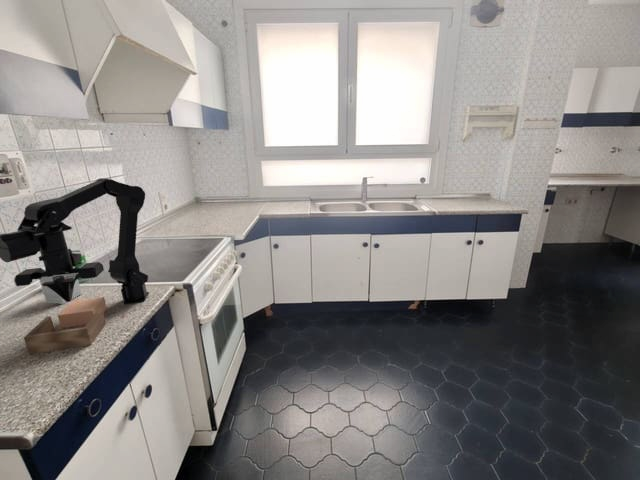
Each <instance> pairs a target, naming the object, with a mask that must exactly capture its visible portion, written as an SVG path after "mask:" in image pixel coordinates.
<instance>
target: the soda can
mask: <svg viewBox="0 0 640 480" xmlns="http://www.w3.org/2000/svg"><path fill="white" fill-rule="evenodd" d="M72 253H78V254H81V257H82V264H77V266H75V268H81V267H82V266H83V265H84V264H86V263H87V260H86V255H85V253H84V252H83V251H81V250H80V249H79V250H77V249H76V250H72ZM88 280H89V278H87V279H82V278H81V277H79V278H78V281H79V284H82V283H85V282H88Z"/></svg>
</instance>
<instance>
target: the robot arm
mask: <svg viewBox="0 0 640 480" xmlns="http://www.w3.org/2000/svg"><path fill="white" fill-rule="evenodd" d="M106 194H107V195H109V196H111V197H114V198H115V202H116V205H117V208H118V210H119V212H120V219H119V229H118V230H119V231H118V243H117V245H118V246H117V255H116V257H115V258H114V260H113V259H109V263H108V265H109V267H108V271H107V272H108V273H109V276H110V278H112V280H114V281H115V282H117V283H118V284H119V285H120V284H121V289H120V292H121V296H122V300H124V301H123V304H124V305H126V304H135V303H140V302H145V301H146V299H147V297H148V295H149V293H150V292H149V291H148V290H147V287H146V283H147V282H148V280H149V275H148V274H146V273H144V272H142V271H140V263H139V262H138V261H139V260H138V259H137V256H136V247H137V246H136V245H137V243H136V242H137V232H138V215H139V213H140V212H141V209H142V208H143V206H144V203H145V199H146V192H145V190H144V189H143V188H142V187H141V186H138V185H130V184H126V183H123V182H121V181H116V180H114V179H112V178H102V177H101V178H98V179H96V180H95V181H93V182H91V183H89V184H86V185H83V186H82V187H79V188H78V189H75V190H73V191H71V192H68V193H66V194H64V195H61V196H59V197H54V198H50V199H45V200H39V201H36V202H31V203H30V204H28V205H27V206H25V208H24V212H23V213H24V217H23V218H22V220H21V222H20V224H19V225H18V228H16V229H17V231H14V232H13V231H12V232H7V233H0V259H1V260H2V261H3V262H4V263H10V262H14V261H18V260H22V259H25V258H28V257H32V256H35V255H37V254H38V252H39V253H40V256H38V260H39V262H43V267H45V269H46V270H45V271H44V270H43V269H42V267H35V268H34V267H33V268H26V269H24V270H23V271H21V272H19V273H18V274H16V275H15V276H14V279H13V281H14V284H15V286H16V287H23V286H24V287H25V286H30V285H31V283H32V282H33V280H39V279H43V282H44V283H43V284H42V285H43V286H47V287H49V288H50V289H51V290H53V291H54V292H56V293H57V294H58V295H59V296H60V297H62V298H63V299H64V300H65V301H66V303H69V302H70V303H71V302H72V301H73V299H72V295H73V289H74V284H75V281H76V280H77V279H78V278H79V277H81V278H82V279H87V278H88V279H94V278H97V277H98V276H100V274H101V273H103V272H104V270H105V269H104V265H103V263H101V262H100V261H96V262H95V261H94V262H86V264H84V265H83V266H82V267H81V268H73V267H75V266H77V264H82V257H81V254H78V253H72V251H73V250H72V249H71V248H69V247H68V244H67V242H66V237H65V234H64V232H66V231H71V230H72V226H69V225H67V224H66V223H64V222H63V221H64V220H65V219H67V218H68V217H69V216H70V215H71V214H72V212H74V211H75V210H76V209H78V208H80V207H82V206H84V205H86V204H88V203H91V202H92V201H94V200H96V199H99V198H100V197H102V196H104V195H106ZM67 272H68V273H67Z"/></svg>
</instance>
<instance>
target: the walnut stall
mask: <svg viewBox="0 0 640 480" xmlns="http://www.w3.org/2000/svg"><path fill="white" fill-rule="evenodd" d="M106 325H107V323H106V319H105V315H104V313H103V310H102V309H99V310H98V311H97V312H96V313H95V314H94V316H93V317H92V318H91V319H90V321H89V322H88V323H87V324H85V325H84V326H82V327H77V328H70V329H62V330H56V327H55V326H54V322H53V318H52V316H51V315H49V316H45V317H44V318H43V319H42V321H40V322H39V323H38V324H37V325H35V327H34V328H32V329H31V330H30V331H29V332H28V333H27V334H26V335H25V336H24V337H23V341H24V343H25V346H26V348H27V351H28V354H29V355H34V354H35V355H36V354H41V353H49V352H54V351H60V350H65V349H72V348H77V347H78V348H79V347H85V346H91V345H92V344H93V343H94V341H95V340H96V339H97V337H98V336H99V335H100V333H101V332H102V330H103V329H104V327H105V326H106Z"/></svg>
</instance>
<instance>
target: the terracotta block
mask: <svg viewBox="0 0 640 480" xmlns="http://www.w3.org/2000/svg"><path fill="white" fill-rule="evenodd" d="M106 302H107V301H106V299H105V297H104V296H100V297H93V298H86V299H79V300H78V299H77V300H71V301H70V303H68V305H66V307H64V308H63V309H62V310H61V311H60V312H59V313H58V314H57V318H58V322H59V325H60V328H61V329H62V328H71V327H77V326H83V325H84V326H85V325H86V324H87V323H88V322H89V321H90V319H91V318H92V317H93V316H94V314H95V313H96V312H97V311H98V310H99V309H102V310H103V314H104V313H105V312H106V310H108V306H107V303H106Z"/></svg>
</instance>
